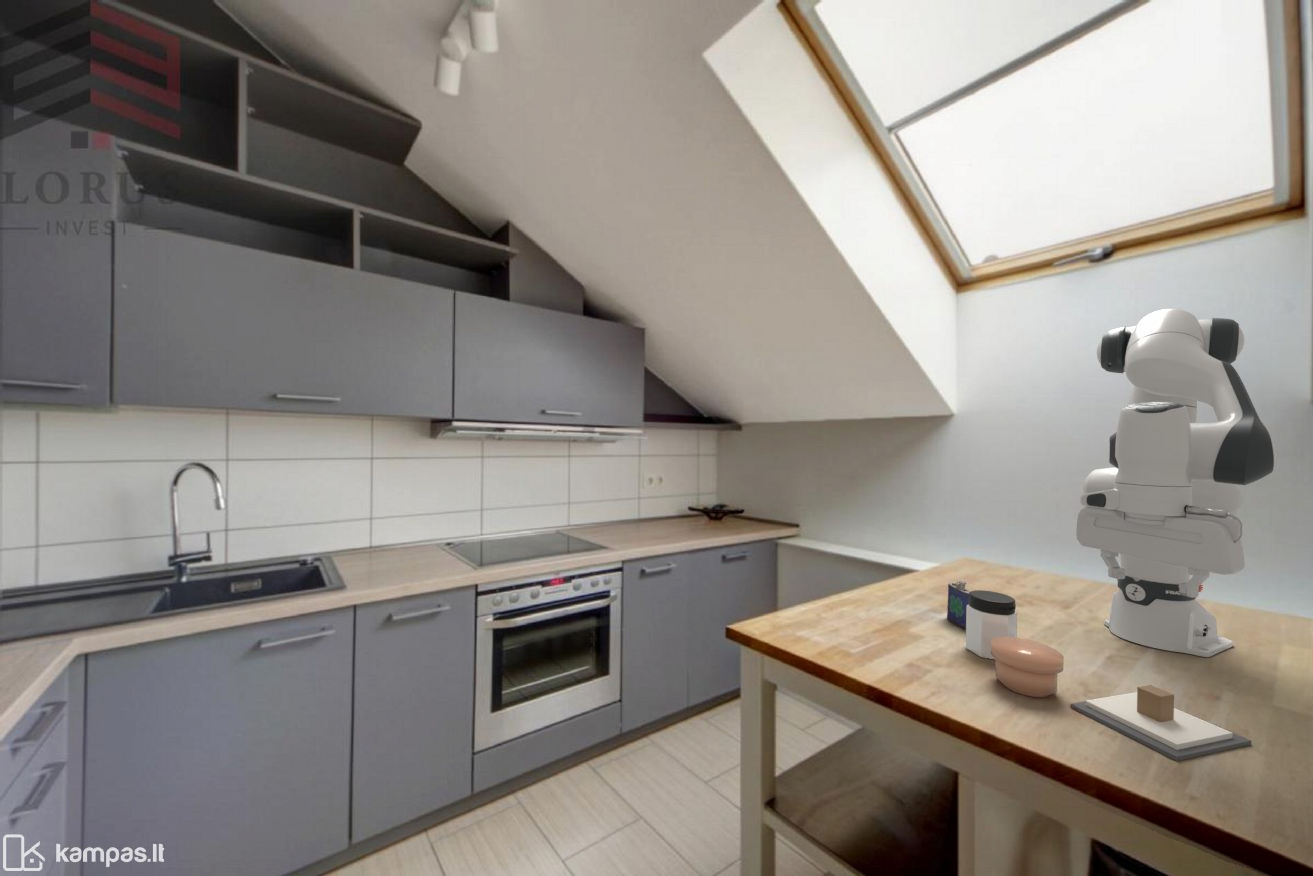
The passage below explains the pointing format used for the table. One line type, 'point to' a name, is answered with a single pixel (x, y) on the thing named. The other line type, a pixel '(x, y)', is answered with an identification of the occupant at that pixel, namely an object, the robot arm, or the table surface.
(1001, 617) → the jar
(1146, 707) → the lid
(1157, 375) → the robot arm
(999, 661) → the pink lidded container
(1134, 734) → the mat
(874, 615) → the table surface
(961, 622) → the flask
